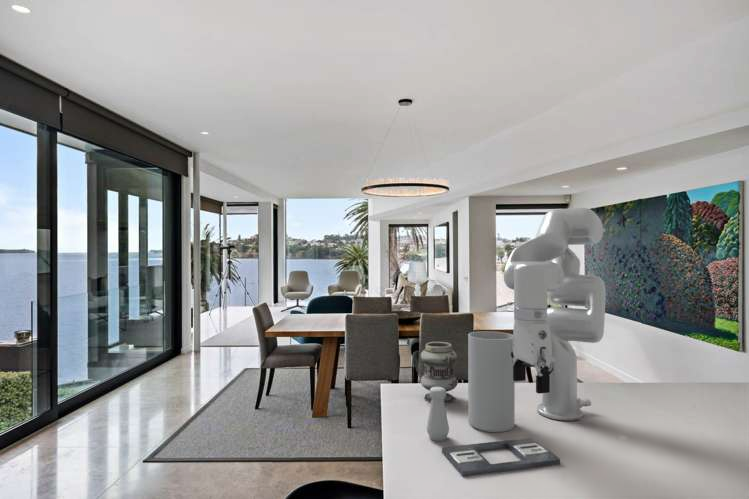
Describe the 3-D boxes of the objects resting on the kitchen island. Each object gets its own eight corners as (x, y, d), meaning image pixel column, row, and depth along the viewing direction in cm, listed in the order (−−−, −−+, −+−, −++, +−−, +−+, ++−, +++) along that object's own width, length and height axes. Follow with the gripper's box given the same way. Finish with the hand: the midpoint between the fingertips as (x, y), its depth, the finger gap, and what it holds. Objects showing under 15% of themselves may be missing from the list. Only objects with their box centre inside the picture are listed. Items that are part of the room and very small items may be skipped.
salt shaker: (448, 443, 113) (448, 392, 113) (425, 441, 115) (425, 390, 115) (449, 434, 119) (449, 385, 119) (428, 432, 120) (428, 383, 120)
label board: (530, 442, 114) (530, 436, 114) (560, 464, 103) (560, 457, 103) (441, 452, 109) (441, 446, 109) (462, 476, 97) (462, 469, 97)
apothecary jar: (421, 392, 155) (421, 339, 155) (456, 393, 153) (456, 340, 153) (420, 404, 143) (420, 347, 143) (458, 405, 141) (458, 348, 141)
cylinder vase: (483, 413, 135) (483, 329, 135) (522, 424, 126) (522, 335, 126) (459, 424, 126) (459, 335, 126) (499, 437, 117) (499, 341, 117)
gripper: (567, 319, 100) (567, 396, 100) (524, 309, 117) (524, 375, 117) (537, 321, 98) (537, 399, 98) (498, 310, 115) (498, 377, 115)
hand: (530, 386), depth 107 cm, fingers open, 9 cm apart
